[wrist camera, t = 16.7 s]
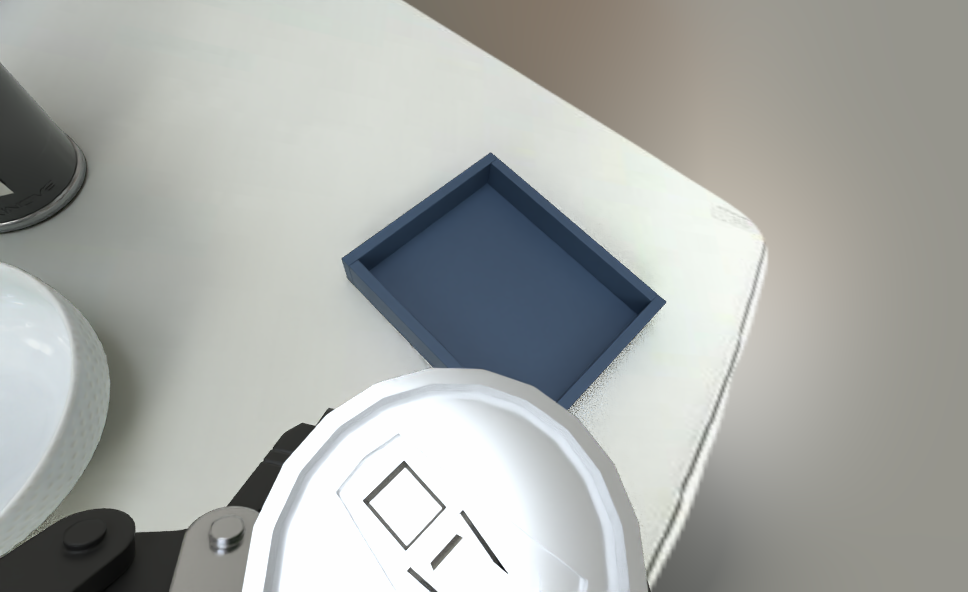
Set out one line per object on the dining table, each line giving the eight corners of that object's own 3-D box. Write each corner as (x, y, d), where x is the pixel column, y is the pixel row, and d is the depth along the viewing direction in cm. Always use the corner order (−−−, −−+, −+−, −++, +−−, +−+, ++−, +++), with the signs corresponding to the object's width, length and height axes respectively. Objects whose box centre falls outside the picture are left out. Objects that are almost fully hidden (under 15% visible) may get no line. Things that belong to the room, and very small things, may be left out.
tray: (346, 277, 36) (341, 258, 33) (486, 175, 41) (490, 151, 39) (520, 457, 32) (529, 451, 29) (649, 317, 37) (667, 301, 35)
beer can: (318, 544, 16) (122, 564, 6) (436, 429, 18) (457, 283, 8) (429, 681, 15) (446, 1044, 4) (542, 541, 17) (744, 554, 6)
